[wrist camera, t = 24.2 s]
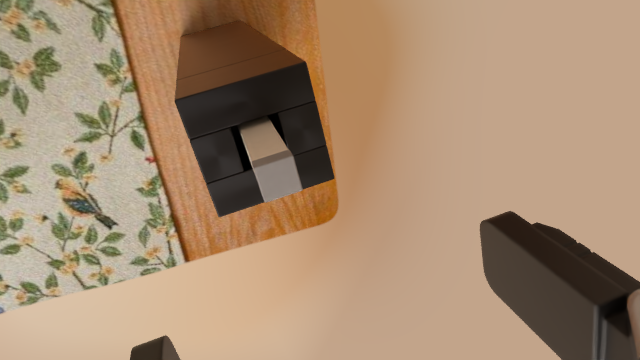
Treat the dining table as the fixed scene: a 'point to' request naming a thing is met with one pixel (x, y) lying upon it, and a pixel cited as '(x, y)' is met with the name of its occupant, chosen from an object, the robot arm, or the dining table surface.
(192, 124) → the holder
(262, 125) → the grey square peg
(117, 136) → the dining table surface
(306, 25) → the dining table surface
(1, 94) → the dining table surface
